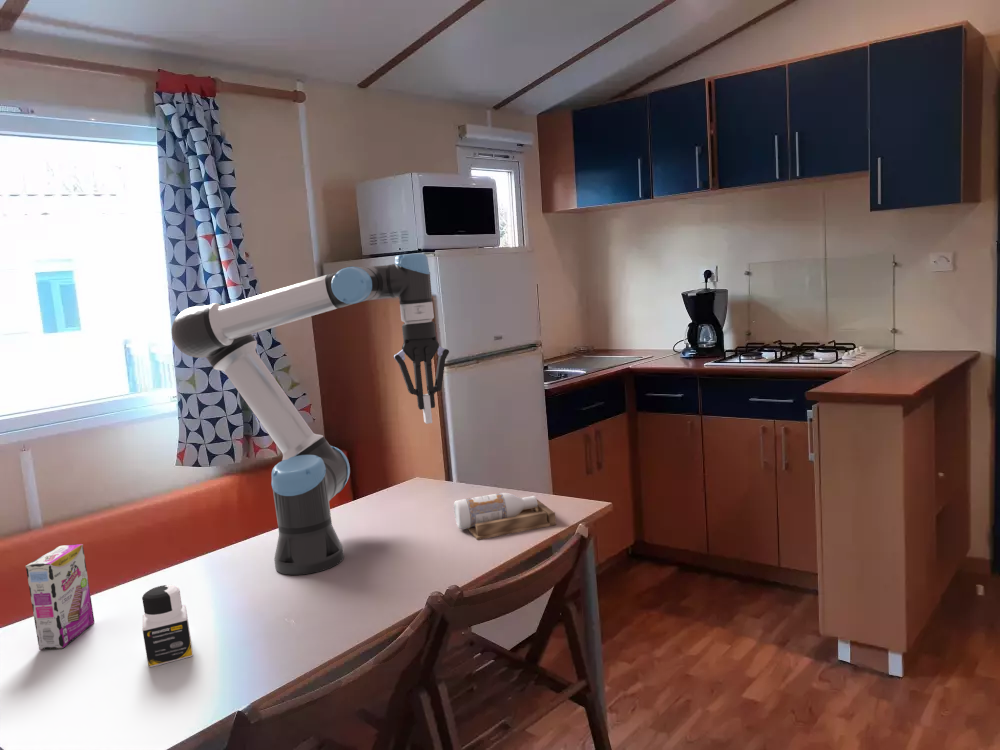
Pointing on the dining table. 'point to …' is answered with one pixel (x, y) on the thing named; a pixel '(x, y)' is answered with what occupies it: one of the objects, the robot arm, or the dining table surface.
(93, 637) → the dining table surface
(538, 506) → the wooden tray
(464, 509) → the bath foam
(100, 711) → the dining table surface
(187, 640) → the medicine bottle
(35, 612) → the candy bar box
